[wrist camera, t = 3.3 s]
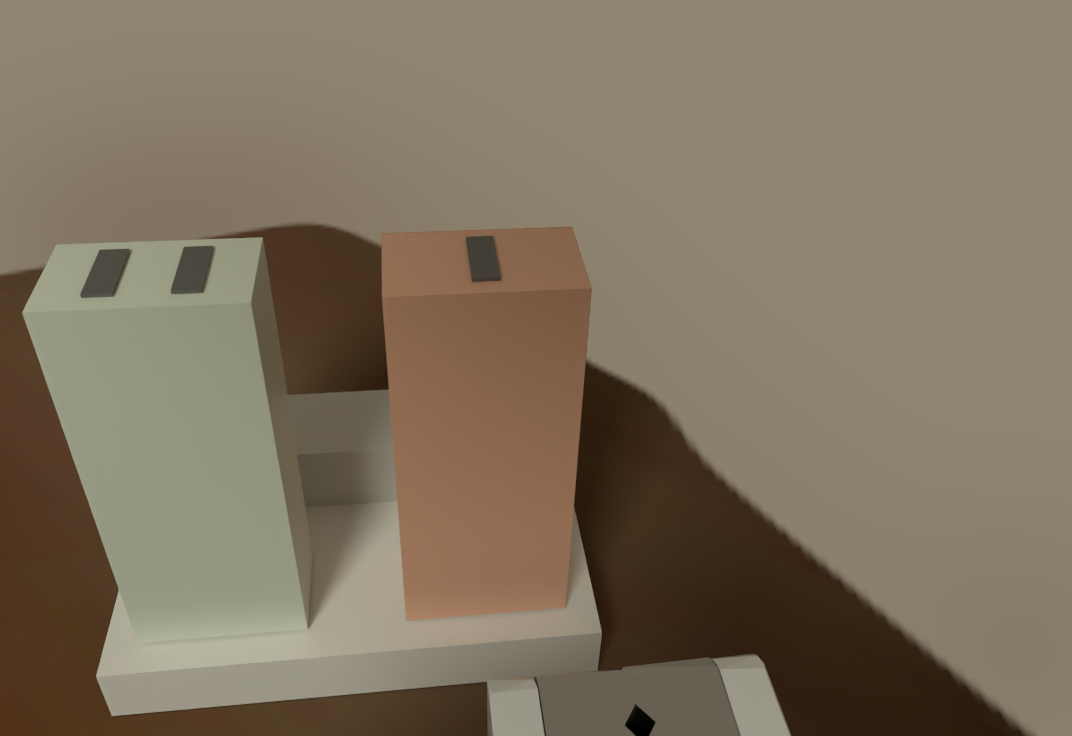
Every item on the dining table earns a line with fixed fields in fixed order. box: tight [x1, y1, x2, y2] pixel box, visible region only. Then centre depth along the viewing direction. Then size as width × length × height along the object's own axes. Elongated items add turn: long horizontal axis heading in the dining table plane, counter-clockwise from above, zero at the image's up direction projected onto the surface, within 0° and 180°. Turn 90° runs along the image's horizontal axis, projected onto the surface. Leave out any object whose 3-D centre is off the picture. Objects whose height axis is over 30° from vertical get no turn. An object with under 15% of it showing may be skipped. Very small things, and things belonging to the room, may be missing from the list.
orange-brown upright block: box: [382, 227, 592, 621], centre depth 28 cm, size 5×3×12 cm, turn 97°
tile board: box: [96, 390, 602, 716], centre depth 33 cm, size 15×10×4 cm, turn 97°
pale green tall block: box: [22, 237, 313, 643], centre depth 27 cm, size 5×3×12 cm, turn 97°
